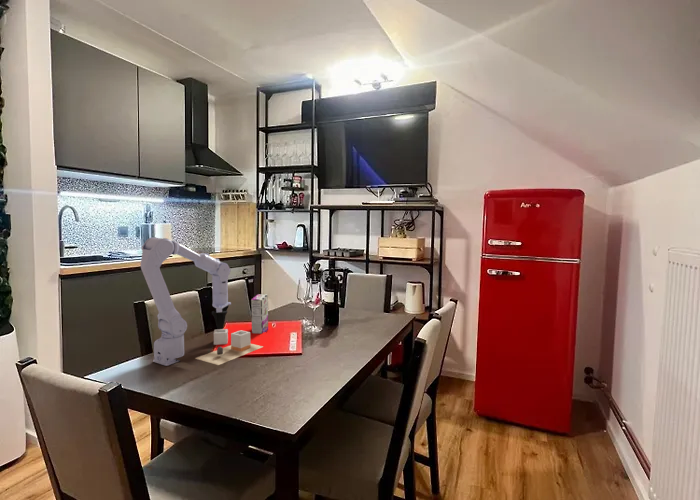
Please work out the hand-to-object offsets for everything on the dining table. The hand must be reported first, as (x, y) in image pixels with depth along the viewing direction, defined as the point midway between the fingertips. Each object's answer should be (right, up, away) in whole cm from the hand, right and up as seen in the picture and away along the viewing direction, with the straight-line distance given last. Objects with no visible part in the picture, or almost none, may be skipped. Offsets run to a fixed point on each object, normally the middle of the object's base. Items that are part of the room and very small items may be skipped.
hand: (220, 326), depth 152 cm
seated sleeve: (+10, -7, -6) cm, 14 cm away
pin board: (+7, -9, -11) cm, 16 cm away
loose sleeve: (0, -8, +1) cm, 8 cm away
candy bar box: (+11, -7, +18) cm, 23 cm away
